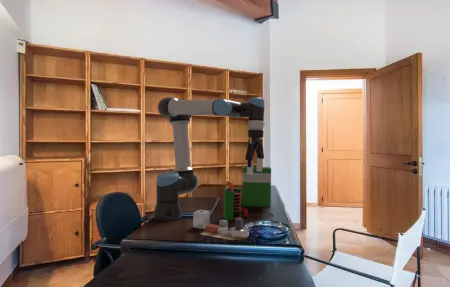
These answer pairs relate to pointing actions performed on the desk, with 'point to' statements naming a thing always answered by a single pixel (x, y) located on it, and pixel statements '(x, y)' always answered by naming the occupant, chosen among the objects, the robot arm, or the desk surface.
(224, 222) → the socket
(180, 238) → the desk surface
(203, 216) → the socket
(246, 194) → the hardback book
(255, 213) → the glasses
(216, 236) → the tool board
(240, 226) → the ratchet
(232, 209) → the motor
